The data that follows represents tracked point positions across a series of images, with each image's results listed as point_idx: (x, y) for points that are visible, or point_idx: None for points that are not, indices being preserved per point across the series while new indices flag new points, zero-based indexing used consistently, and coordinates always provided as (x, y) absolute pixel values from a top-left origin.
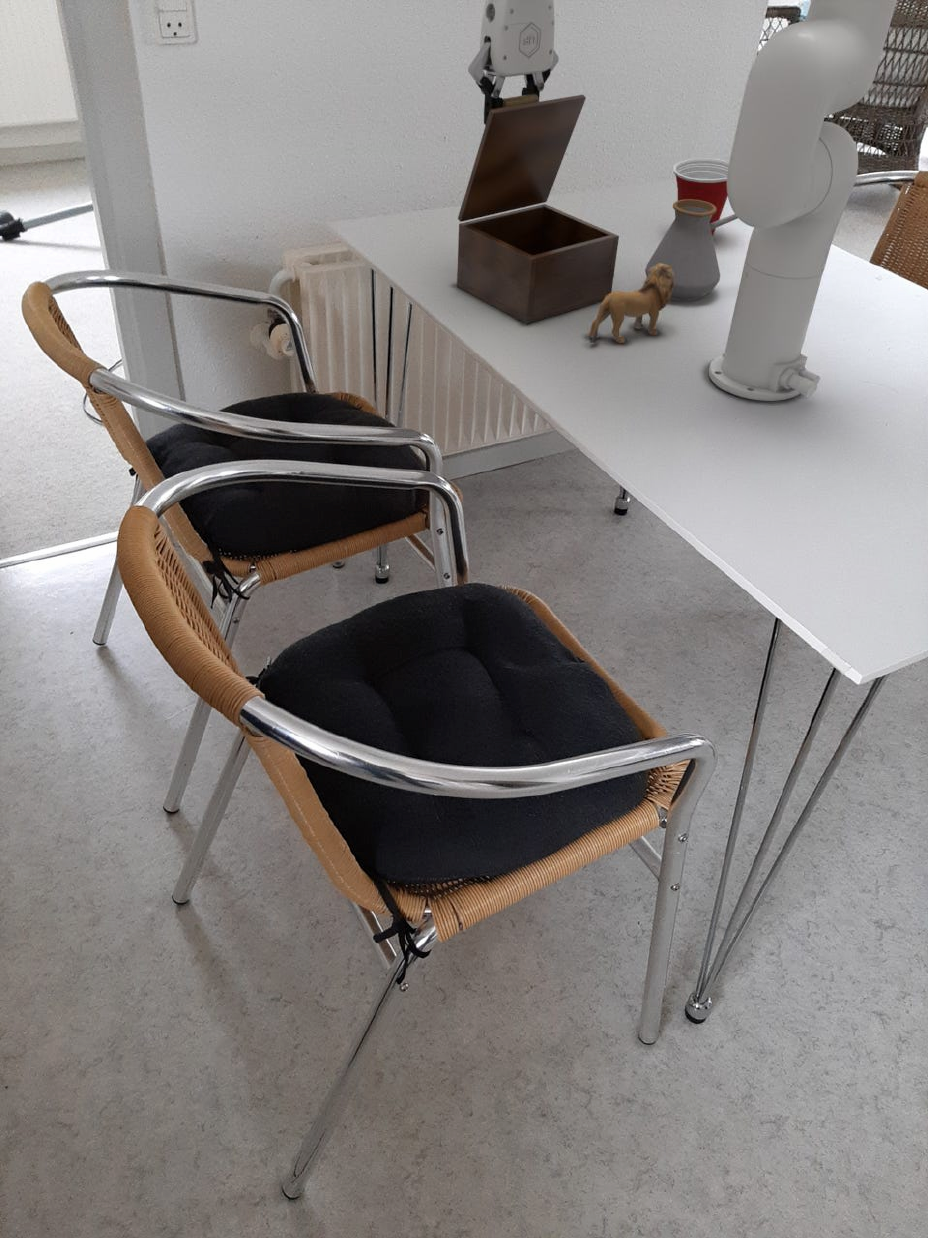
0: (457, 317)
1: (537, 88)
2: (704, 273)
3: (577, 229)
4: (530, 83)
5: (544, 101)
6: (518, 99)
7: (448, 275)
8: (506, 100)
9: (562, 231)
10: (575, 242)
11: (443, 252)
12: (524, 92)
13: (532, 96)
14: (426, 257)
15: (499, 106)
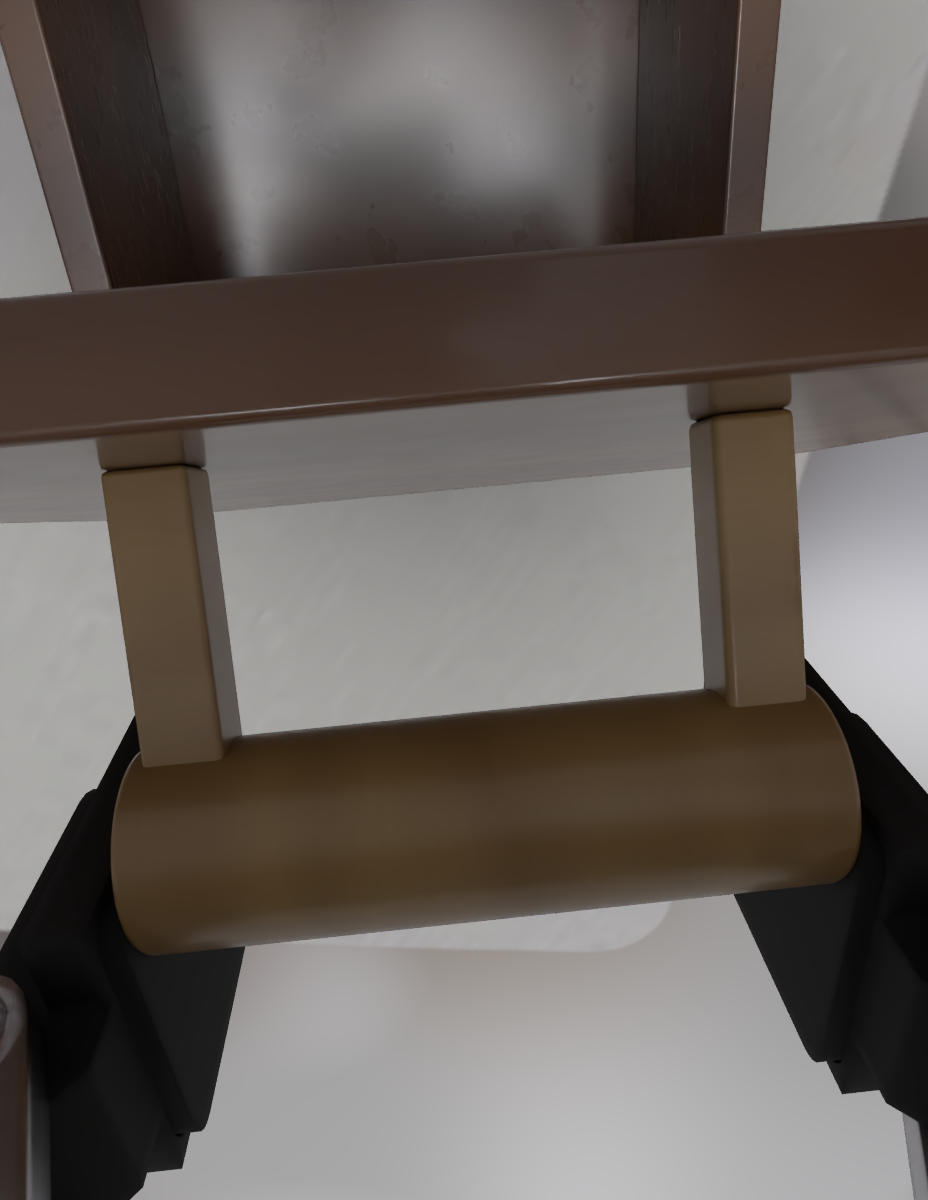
0: (863, 74)
1: (32, 1020)
2: None
3: (88, 129)
4: (84, 1180)
5: (257, 388)
6: (566, 805)
7: (609, 477)
8: (827, 797)
9: (140, 267)
10: (117, 137)
11: (493, 660)
12: (199, 1067)
13: (232, 854)
14: (574, 647)
15: (887, 759)
